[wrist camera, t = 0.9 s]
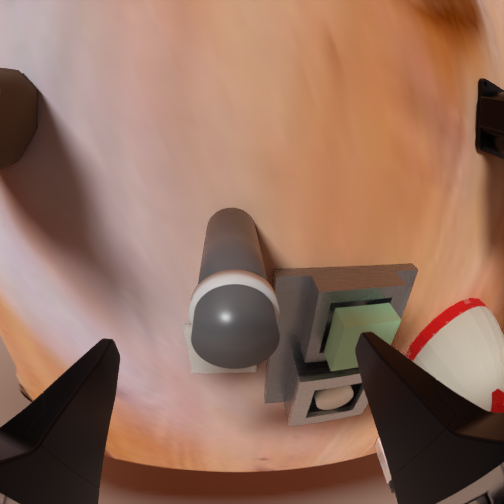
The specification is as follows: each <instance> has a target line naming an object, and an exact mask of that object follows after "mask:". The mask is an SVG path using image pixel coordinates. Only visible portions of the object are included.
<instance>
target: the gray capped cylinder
mask: <svg viewBox="0 0 504 504" xmlns="http://www.w3.org/2000/svg"><path fill="white" fill-rule="evenodd" d="M279 314H280V311H279V306H278V302H277V298H276V294H275V292H274V290H273V288H272V286H271V285H270V284H269V283H268V280H267V276H266V271H265V267H264V263H263V258H262V254H261V249H260V245H259V241H258V236H257V232H256V228H255V224H254V221H253V219H252V218H251V217H250V215H249V214H247V213H246V212H245V211H243V210H241V209H237V208H226V209H222V210H220V211H218V212H217V213H215V214H214V215H213V216H212V217H211V219H210V220H209V222H208V225H207V231H206V237H205V243H204V249H203V255H202V262H201V268H200V275H199V282H198V285H197V287H196V288H195V290H194V292H193V294H192V297H191V303H190V309H189V319H190V323H191V325H192V333H191V343H192V346H193V348H194V350H195V352H196V353H197V354H198V355H199V356H200V357H201V358H202V359H203V360H205V361H206V362H208V363H210V364H212V365H215V366H218V367H222V368H228V369H241V368H247V367H251V366H254V365H257V364H259V363H261V362H263V361H265V360H266V359H268V358H269V357H270V356H271V355H272V354H273V353H274V352H275V350H276V349H277V347H278V344H279V340H280V334H279V329H278V324H277V323H278V321H279Z"/></svg>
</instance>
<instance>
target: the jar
mask: <svg viewBox="0 0 504 504" xmlns="http://www.w3.org/2000/svg"><path fill="white" fill-rule="evenodd" d="M375 449H376V452H377V455H378V458H379V460H380V463H381V466H382V469H383V472H384V475H385V478H386V481H387V483H389V486H390V489H391V492H392V493H395V490H394V487H393V483H392V479H391V475H390V471H389V468H388V464H387V461H386V457H385V454H384V451H383V447H382V444H381V441H380V437H378V438H377V441H376V443H375Z"/></svg>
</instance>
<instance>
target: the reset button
mask: <svg viewBox="0 0 504 504" xmlns="http://www.w3.org/2000/svg"><path fill="white" fill-rule="evenodd" d="M352 397H353V390H352V388H351V385H347V386H341V387H335V388H329V389H322V390H315V391H314V398H315V401H316V405H317V407H318V408H319V409H323V410H330V409H335V408H338V407H340V406H342V405H344V404H346V403H347V402H349V401H350V400H351V398H352Z"/></svg>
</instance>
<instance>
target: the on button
mask: <svg viewBox="0 0 504 504" xmlns="http://www.w3.org/2000/svg"><path fill="white" fill-rule="evenodd" d="M400 322H401V319H400V317H399V316H398V314H397V313H396V311H395V310H394V309H393V307H392V306H391V304H390V303H382V304H373V305H363V306H353V307H342V308H335V310H334V315H333V319H332V323H331V327H330V331H329V335H328V339H327V343H326V346H325V350H324V354H325V357H326V359H327V362H328V365H329V368H330V371H338V370H344V369H350V368H356V367H358V363H357V358H356V354H355V348H356V345H357V342H358V339H359V336H360V334H361V333H362V332H369V331H371V332H373V333H374V334H376V335H377V336H379V337H380V338H381V339H383V340H384V341H385V342H387V343H388V344H390V345H391V343H392V341H393V339H394V336H395V334H396V332H397V329H398V327H399V324H400Z"/></svg>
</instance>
